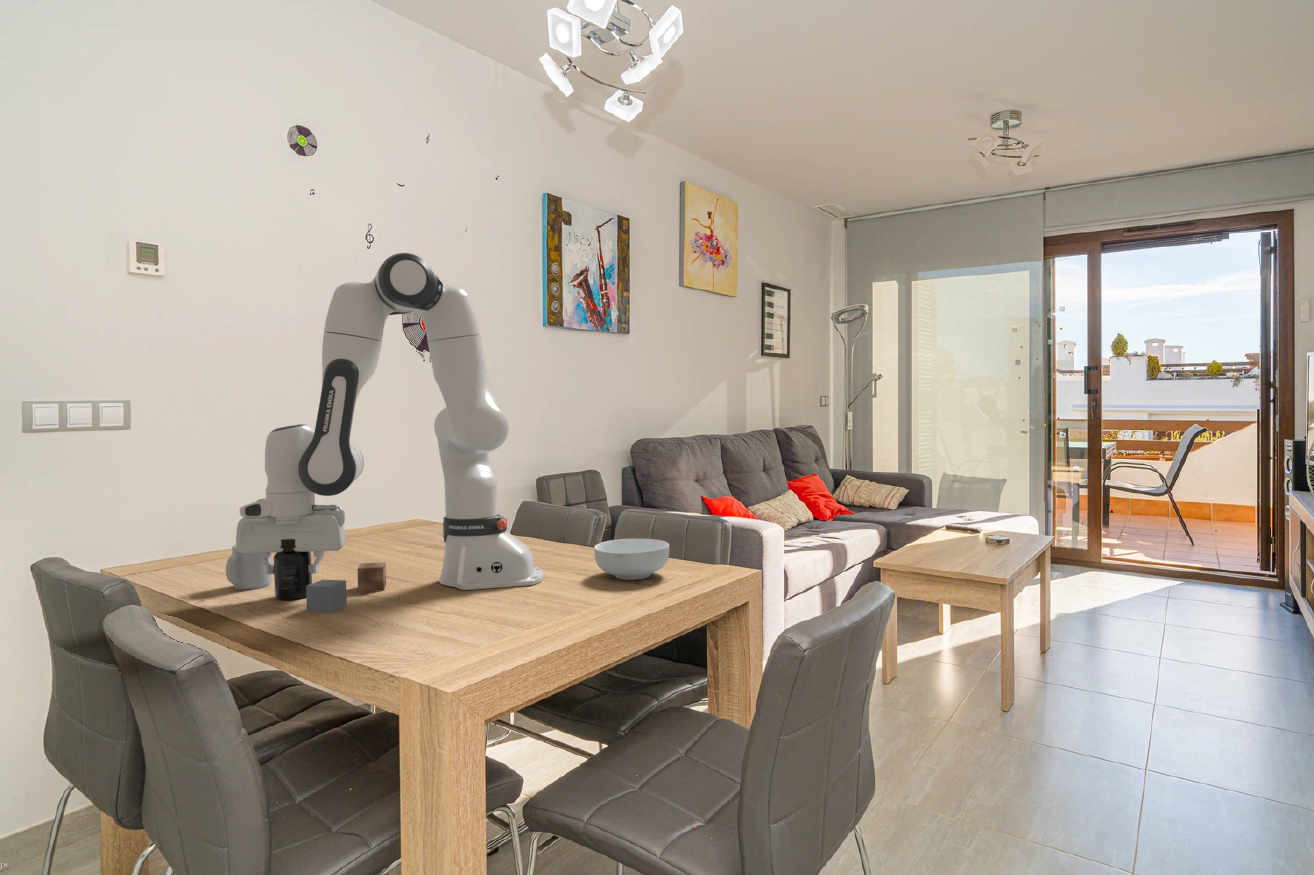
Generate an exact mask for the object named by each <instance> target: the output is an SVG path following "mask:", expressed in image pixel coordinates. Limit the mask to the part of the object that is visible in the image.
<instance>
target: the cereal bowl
mask: <svg viewBox="0 0 1314 875" xmlns="http://www.w3.org/2000/svg"><path fill="white" fill-rule="evenodd" d="M593 552H594V560H595V563H596V565H597V566H598V567H599V569H601V571H603V572H604V573H607V574H609V575H612V576H614V577H615V578H617V579H619V580H623V581H624V580H627V581H634V580H635V581H638V580H643V579H647V578H649V577H650V576H651V575H652V574H654V573H655V572H658V571H660V570H661V569H662V568H664V566H666V564H667V563H668V560H669V557H670V543H668V542H667V541H664V540H660V539H652V538H621V539H612V540H607V541H603V542H598V544H597V543H596V544H595V545H594V549H593Z"/></svg>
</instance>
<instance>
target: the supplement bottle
mask: <svg viewBox="0 0 1314 875" xmlns="http://www.w3.org/2000/svg"><path fill="white" fill-rule="evenodd" d="M280 548H283V551H282V552H275V554H274V556H273V564H274V574H273V577H274V580H273V581H274V595H275V596H274V597H275V598H276V599H278V600H281V601H290V600H293V601H294V600H300V599H303V598H306V586H307V585H310V584H312V583H313V574H309V572H308V571H309V569H308V565H310V564H312V554H311V552H298V551H295V550H294V549H293V548H296V546H295V539H282V540H281V546H280Z"/></svg>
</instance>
